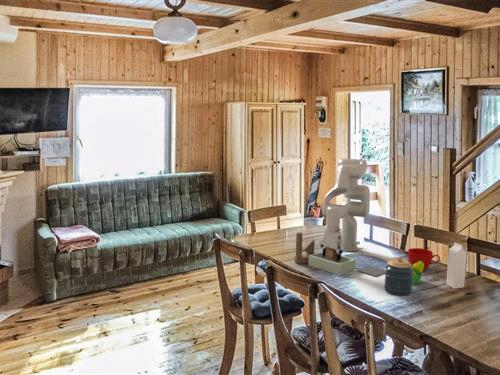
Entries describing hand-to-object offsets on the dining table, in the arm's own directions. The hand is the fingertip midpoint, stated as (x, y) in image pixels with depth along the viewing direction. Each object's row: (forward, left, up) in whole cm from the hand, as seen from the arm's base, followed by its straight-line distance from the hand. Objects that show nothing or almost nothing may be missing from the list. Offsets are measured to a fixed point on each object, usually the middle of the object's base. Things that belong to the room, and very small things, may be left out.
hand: (331, 258), depth 258 cm
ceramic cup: (-38, +35, -6) cm, 52 cm away
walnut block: (0, 0, -5) cm, 5 cm away
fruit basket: (-15, +42, -6) cm, 45 cm away
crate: (0, 0, -5) cm, 5 cm away
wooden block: (+5, -16, -6) cm, 18 cm away
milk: (-25, +59, -6) cm, 64 cm away
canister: (+4, +44, -6) cm, 44 cm away
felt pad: (-12, +19, -5) cm, 23 cm away
